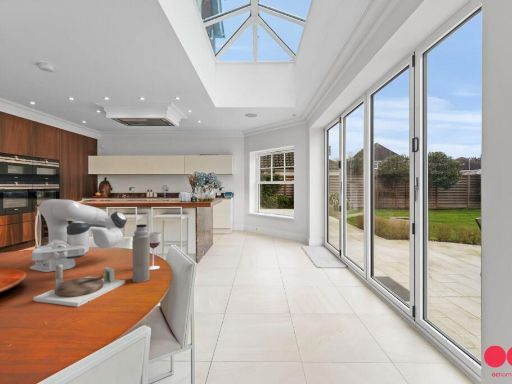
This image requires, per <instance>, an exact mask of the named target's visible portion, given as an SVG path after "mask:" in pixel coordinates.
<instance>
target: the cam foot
mask: <svg viewBox="0 0 512 384" xmlns="http://www.w3.org/2000/svg"><path fill="white" fill-rule="evenodd" d="M63 272H64V270H63V265H56V271H55V286H54V289H55V294H56V295H58V296H63V297H72V296H80V295H85V294H89V293H93V292H95V291H98V290H99V289H101V288H102V287H103V280H102V279H104V278H105V277H106V275H104V273H103V274H100V276H99V277H96V278H93V276H88V277H89V278H85V277H79V278H74V279H69V280H65V281H63V280H64V279H63V278H64V277H63V275H64V273H63Z"/></svg>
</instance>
